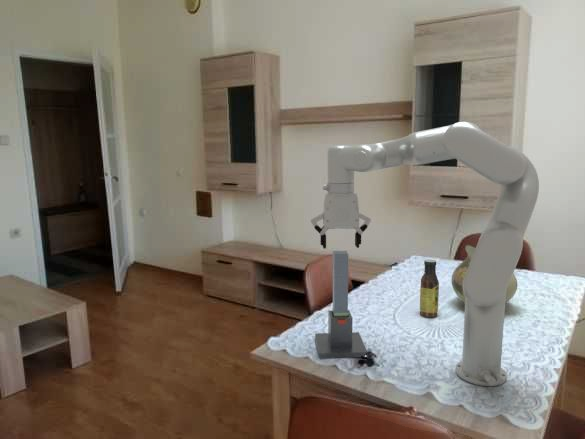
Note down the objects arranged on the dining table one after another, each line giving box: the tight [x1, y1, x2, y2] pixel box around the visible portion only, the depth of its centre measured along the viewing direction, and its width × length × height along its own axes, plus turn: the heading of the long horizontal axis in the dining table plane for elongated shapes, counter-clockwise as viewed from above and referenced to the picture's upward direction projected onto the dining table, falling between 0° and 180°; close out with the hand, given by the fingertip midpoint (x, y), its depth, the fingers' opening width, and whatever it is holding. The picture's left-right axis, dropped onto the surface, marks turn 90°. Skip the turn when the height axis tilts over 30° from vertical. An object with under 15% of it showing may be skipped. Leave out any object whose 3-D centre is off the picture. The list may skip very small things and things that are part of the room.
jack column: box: [331, 250, 349, 317], centre depth 139 cm, size 4×4×22 cm
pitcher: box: [451, 243, 518, 307], centre depth 172 cm, size 22×24×25 cm
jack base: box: [314, 309, 368, 359], centre depth 141 cm, size 14×14×10 cm
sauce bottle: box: [419, 259, 440, 318], centre depth 165 cm, size 6×6×20 cm
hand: (340, 247), depth 137 cm, fingers open, 9 cm apart
